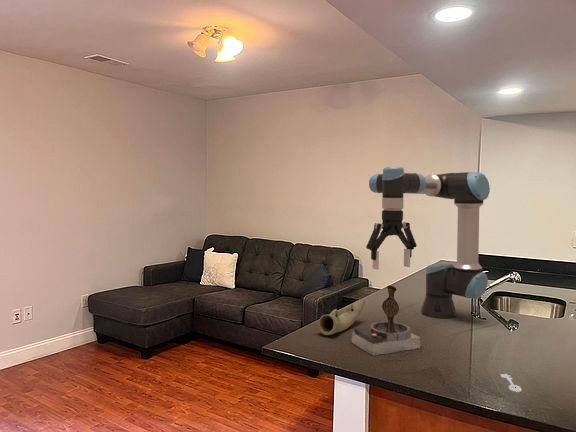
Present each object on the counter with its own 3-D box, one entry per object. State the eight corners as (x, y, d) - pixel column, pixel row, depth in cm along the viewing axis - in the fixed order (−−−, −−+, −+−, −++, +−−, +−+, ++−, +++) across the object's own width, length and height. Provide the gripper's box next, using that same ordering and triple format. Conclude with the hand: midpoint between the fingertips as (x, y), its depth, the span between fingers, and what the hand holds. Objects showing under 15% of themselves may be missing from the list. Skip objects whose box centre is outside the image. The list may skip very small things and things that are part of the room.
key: (510, 392, 125) (523, 393, 124) (510, 389, 125) (523, 390, 124) (499, 375, 137) (511, 376, 136) (500, 372, 136) (511, 373, 136)
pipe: (334, 339, 167) (335, 313, 167) (316, 335, 172) (316, 310, 171) (366, 321, 190) (366, 298, 190) (348, 318, 195) (349, 296, 194)
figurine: (377, 332, 164) (378, 284, 163) (386, 329, 167) (387, 282, 166) (393, 337, 158) (394, 288, 157) (402, 334, 161) (403, 286, 160)
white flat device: (396, 335, 172) (396, 319, 171) (420, 348, 158) (420, 330, 158) (351, 342, 164) (351, 325, 164) (372, 355, 151) (373, 337, 150)
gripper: (414, 208, 167) (412, 264, 168) (357, 209, 158) (356, 268, 159) (427, 209, 160) (425, 267, 162) (368, 210, 151) (367, 271, 152)
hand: (391, 267), depth 160 cm, fingers open, 13 cm apart
